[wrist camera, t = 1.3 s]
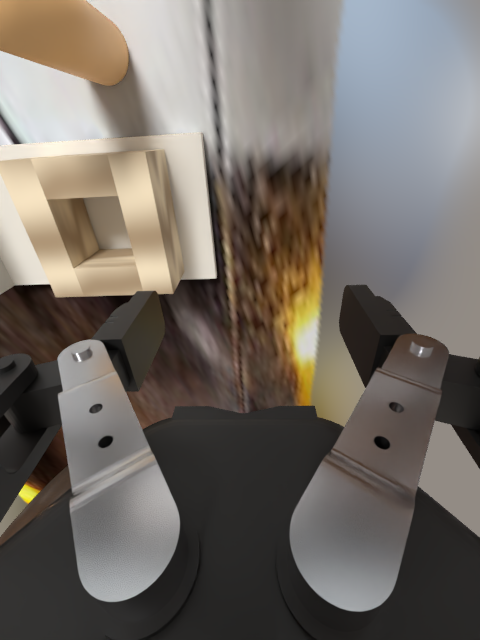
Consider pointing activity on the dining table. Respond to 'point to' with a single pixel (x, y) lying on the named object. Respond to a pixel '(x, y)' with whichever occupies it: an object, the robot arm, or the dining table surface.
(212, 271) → the plate
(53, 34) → the dowel
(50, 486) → the plant pot
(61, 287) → the socket block
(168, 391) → the dining table surface
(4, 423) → the cola bottle
